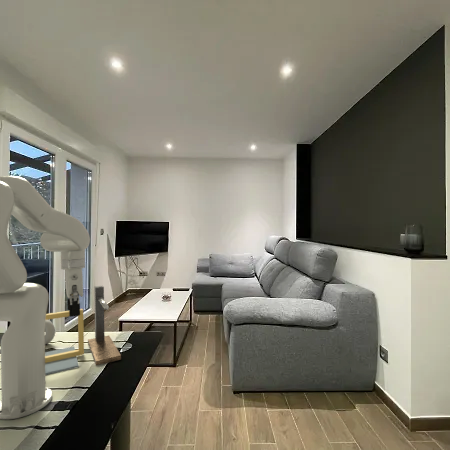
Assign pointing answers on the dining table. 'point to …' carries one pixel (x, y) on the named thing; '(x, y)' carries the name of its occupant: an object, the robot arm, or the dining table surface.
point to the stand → (102, 333)
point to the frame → (80, 337)
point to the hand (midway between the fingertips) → (73, 312)
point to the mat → (60, 362)
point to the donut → (49, 331)
